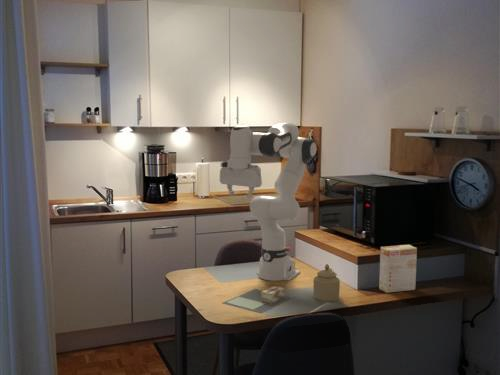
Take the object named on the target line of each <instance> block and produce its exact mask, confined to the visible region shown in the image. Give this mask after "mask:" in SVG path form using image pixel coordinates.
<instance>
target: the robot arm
mask: <svg viewBox="0 0 500 375" xmlns="http://www.w3.org/2000/svg"><path fill="white" fill-rule="evenodd" d="M250 128H251V127H250V126H249V125H247V124H240V125H234V127H232V128H231V132H230V137H229V138H230V139H229V142H230V143H229V148H230V155H229V159H228V160H225V161H221V162H220V167H221V168H220V170H219V182H220V183H221V185H226V188H227V190H228V195H229V196H234V195H235V190H233V186H237V187H238V186H239V187H247V188H248V192H246V197H247V198H252V197H253V192H254V191H255V188H260V187H261V186H263V185H262V184H263V182H262V180H263V179H262V171H261V167H260V166H259V165H256V164H252V156H266V157H274V156H277V157H279V158H286V159H287V162H286V163H285V164H284V166H283V168H282V169H281V171H280V173H278V176H277V178H276V180H275V182H274V184H273V185H274V190H275V191H276V193H277V194H278V195H277V196H272V195H258V196H257V195H256V196H254V197H253V198H252V199H251V201H250V203H249V210H250V213H251V215H252V216H254V217H255V219H256V220H257V222H258V224H259V226H260V230H261V242H262V246H261V250H260V254H261V257H260V258H259V263H258V264H259V265H258V271H257V272H256V275H258V277H259V278H260V279H262V280H265V281H271V282H272V281H273V282H274V281H278V282H279V281H291V280H292V279H294V278H295V277H296V276H298V275H299V274H300V273H301V270H299V269H296V263H295V260H294V259H292V258H291V256H289V254H288V252H290V251H291V247H287V246H286V231H285V230H284V228H282V226H280V225H279V223H278V221H281V222H291V221H295V220H297V218H299V215H300V212H301V208H300V204H299V202H298V201H297V200H296V194H297V191H298V188H299V186H300V184H301V182H302V180H303V178H304V175H305V171H306V165H307V164H309V163H310V162H311V161H312V160H313V159H314V157H316V154H317V151H318V145H317V142H316V141H315V140H314V139H312V138H309V137H301V136H300V128H299V127H298V126H297V124H294V123H292V122H291V123H290V122H281V123H277V124H274V125H272V126H270V128H268V130H267V132H253V131H252V130H251V129H250ZM305 164H306V165H305Z"/></svg>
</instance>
